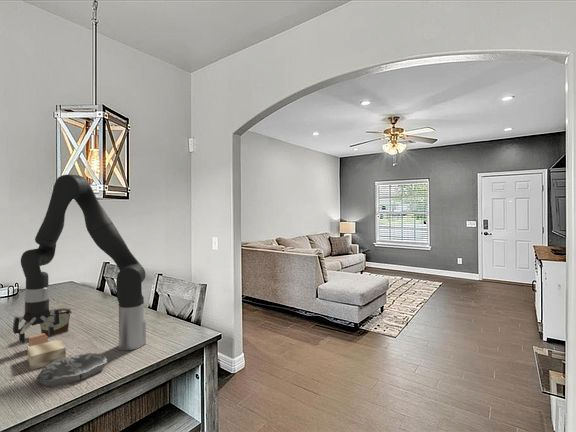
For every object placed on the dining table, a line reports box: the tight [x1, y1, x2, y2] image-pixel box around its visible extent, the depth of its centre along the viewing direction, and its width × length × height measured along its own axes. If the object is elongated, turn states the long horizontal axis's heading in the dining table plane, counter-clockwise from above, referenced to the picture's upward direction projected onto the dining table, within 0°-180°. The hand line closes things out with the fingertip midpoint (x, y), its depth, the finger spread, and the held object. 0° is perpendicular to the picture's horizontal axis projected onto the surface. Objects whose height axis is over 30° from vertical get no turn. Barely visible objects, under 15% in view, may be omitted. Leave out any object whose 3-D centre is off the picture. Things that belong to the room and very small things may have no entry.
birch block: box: [27, 339, 67, 371], centre depth 116 cm, size 10×10×5 cm
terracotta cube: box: [28, 333, 49, 347], centre depth 124 cm, size 5×5×5 cm
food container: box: [39, 307, 72, 338], centre depth 139 cm, size 12×6×10 cm, turn 141°
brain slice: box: [37, 352, 108, 388], centre depth 107 cm, size 20×17×3 cm
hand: (36, 339), depth 124 cm, fingers open, 8 cm apart
